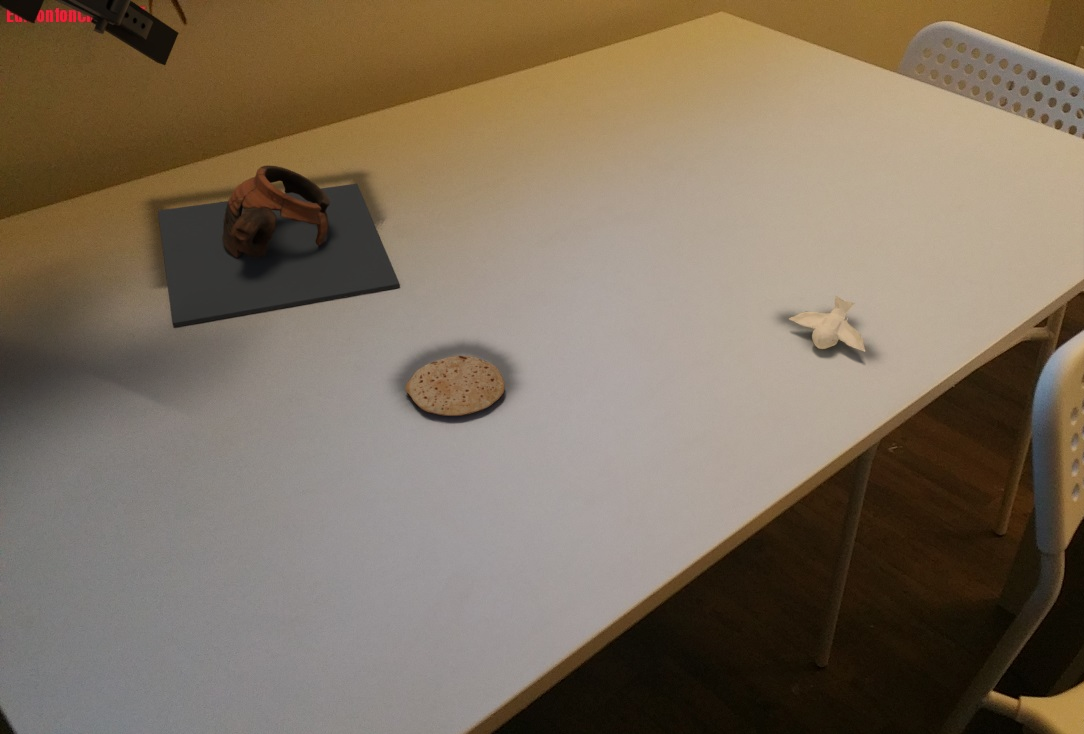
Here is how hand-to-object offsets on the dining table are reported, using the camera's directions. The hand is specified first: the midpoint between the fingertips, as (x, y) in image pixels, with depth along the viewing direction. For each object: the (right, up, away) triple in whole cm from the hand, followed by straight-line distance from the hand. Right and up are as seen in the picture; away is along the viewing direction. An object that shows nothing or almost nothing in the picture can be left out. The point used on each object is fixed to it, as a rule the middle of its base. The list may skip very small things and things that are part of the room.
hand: (101, 27), depth 77 cm
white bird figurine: (+60, -25, +16) cm, 66 cm away
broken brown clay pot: (+6, -15, +20) cm, 26 cm away
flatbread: (+26, -29, +7) cm, 39 cm away
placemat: (+6, -15, +21) cm, 26 cm away
